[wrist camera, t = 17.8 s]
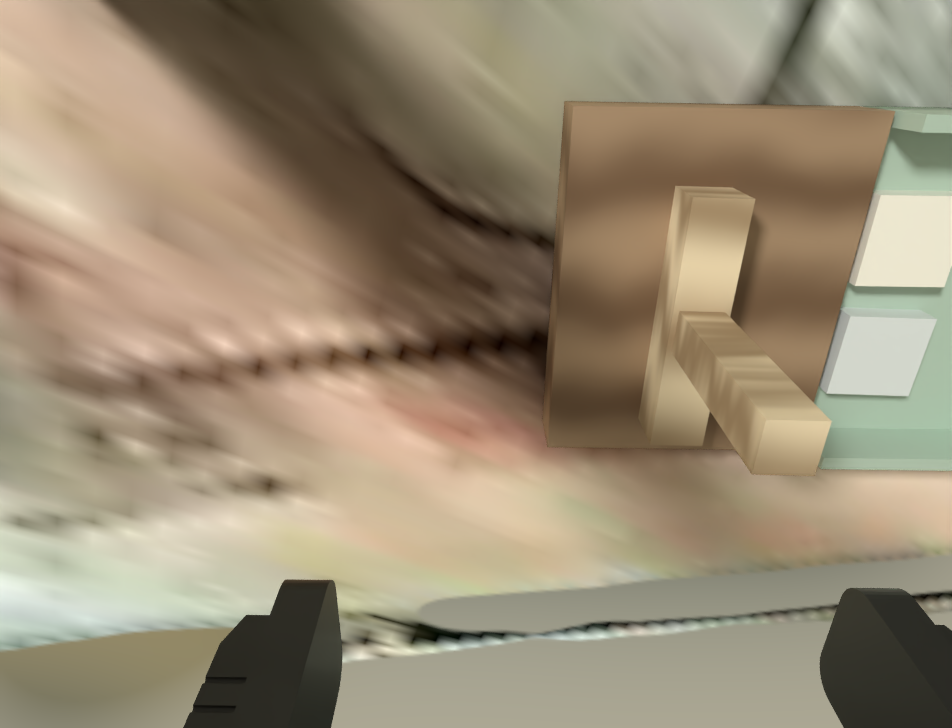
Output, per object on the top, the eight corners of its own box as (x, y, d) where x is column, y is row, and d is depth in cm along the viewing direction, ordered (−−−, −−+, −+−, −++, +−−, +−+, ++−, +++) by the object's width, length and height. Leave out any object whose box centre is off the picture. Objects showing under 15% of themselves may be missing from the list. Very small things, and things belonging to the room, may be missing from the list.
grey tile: (837, 307, 38) (850, 316, 36) (920, 310, 38) (937, 319, 36) (814, 382, 40) (826, 393, 39) (893, 384, 40) (908, 396, 39)
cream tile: (865, 189, 35) (880, 194, 33) (956, 191, 35) (975, 196, 33) (841, 277, 37) (855, 286, 36) (927, 278, 37) (944, 287, 36)
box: (863, 106, 35) (927, 114, 30) (1081, 109, 35) (1181, 118, 30) (781, 422, 44) (820, 468, 39) (956, 424, 44) (1018, 471, 39)
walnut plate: (564, 101, 35) (573, 105, 32) (857, 106, 35) (895, 111, 32) (542, 418, 43) (547, 447, 40) (776, 422, 43) (800, 450, 40)
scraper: (675, 185, 33) (797, 264, 21) (732, 187, 33) (889, 267, 21) (638, 418, 39) (714, 589, 27) (686, 419, 39) (786, 590, 27)
